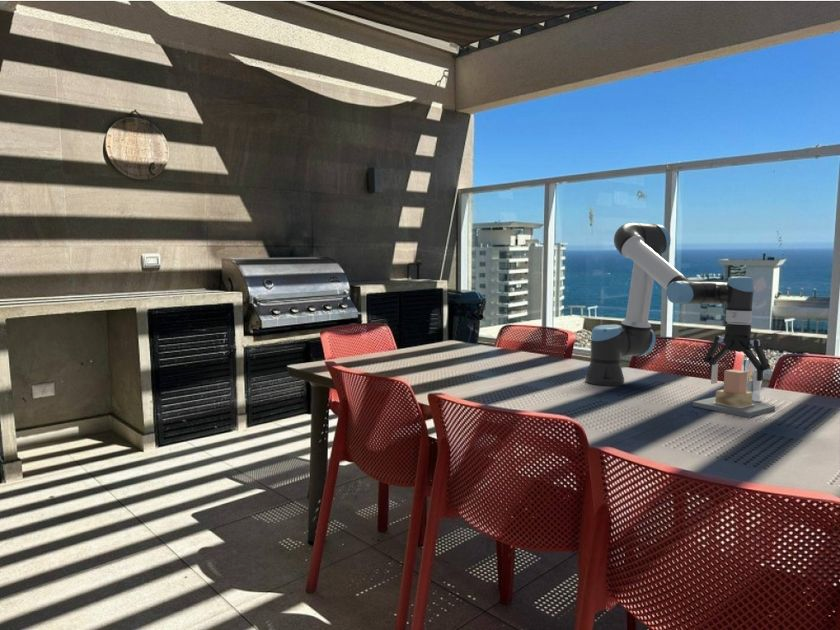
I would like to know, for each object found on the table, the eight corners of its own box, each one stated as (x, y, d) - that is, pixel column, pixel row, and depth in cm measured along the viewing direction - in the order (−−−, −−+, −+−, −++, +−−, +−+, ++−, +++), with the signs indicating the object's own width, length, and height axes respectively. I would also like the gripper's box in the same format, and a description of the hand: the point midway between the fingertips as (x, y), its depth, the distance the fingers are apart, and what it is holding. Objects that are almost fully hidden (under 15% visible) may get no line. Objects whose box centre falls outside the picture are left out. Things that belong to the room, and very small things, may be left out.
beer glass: (759, 398, 205) (762, 357, 204) (764, 402, 198) (767, 360, 197) (737, 397, 207) (740, 356, 206) (741, 401, 201) (744, 359, 200)
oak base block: (715, 402, 190) (716, 390, 190) (727, 399, 195) (727, 388, 195) (740, 407, 184) (740, 395, 183) (751, 404, 188) (752, 392, 188)
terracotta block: (723, 391, 189) (724, 370, 189) (730, 389, 192) (732, 369, 192) (738, 394, 185) (740, 372, 185) (746, 392, 188) (747, 371, 188)
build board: (692, 406, 192) (692, 401, 191) (719, 399, 202) (719, 395, 202) (748, 417, 177) (748, 412, 177) (774, 410, 187) (774, 405, 187)
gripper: (695, 320, 195) (692, 381, 197) (774, 327, 175) (769, 394, 177) (706, 320, 200) (703, 379, 201) (784, 326, 179) (780, 392, 181)
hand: (734, 386), depth 189 cm, fingers open, 13 cm apart
